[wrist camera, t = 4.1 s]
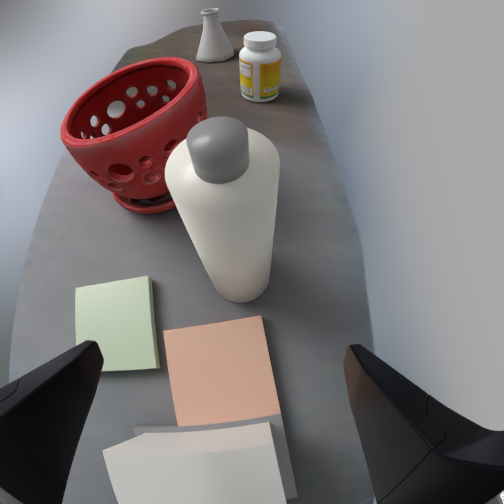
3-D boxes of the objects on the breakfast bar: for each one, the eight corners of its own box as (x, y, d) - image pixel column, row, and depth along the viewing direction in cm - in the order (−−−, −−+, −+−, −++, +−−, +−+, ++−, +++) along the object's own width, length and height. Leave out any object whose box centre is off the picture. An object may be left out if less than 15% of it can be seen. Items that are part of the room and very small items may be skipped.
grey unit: (296, 492, 16) (312, 538, 9) (158, 502, 16) (121, 540, 8) (279, 411, 19) (290, 431, 12) (138, 425, 19) (87, 441, 12)
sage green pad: (160, 368, 21) (156, 367, 20) (84, 372, 21) (78, 371, 20) (152, 279, 24) (148, 275, 23) (81, 291, 24) (75, 288, 23)
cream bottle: (275, 297, 23) (298, 172, 9) (216, 307, 23) (152, 198, 9) (263, 244, 25) (266, 93, 11) (208, 253, 25) (157, 112, 11)
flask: (189, 63, 41) (181, 17, 32) (205, 48, 44) (199, 6, 34) (227, 64, 40) (222, 15, 31) (240, 49, 43) (237, 5, 34)
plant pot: (197, 123, 33) (181, 43, 22) (235, 197, 28) (224, 97, 17) (103, 162, 31) (64, 92, 20) (116, 247, 26) (50, 172, 15)
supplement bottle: (237, 101, 35) (232, 41, 26) (245, 83, 37) (243, 28, 28) (276, 105, 34) (278, 44, 25) (281, 86, 36) (284, 31, 27)
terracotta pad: (279, 411, 19) (280, 413, 19) (181, 424, 19) (178, 426, 18) (260, 317, 23) (261, 315, 22) (167, 332, 22) (163, 330, 21)
